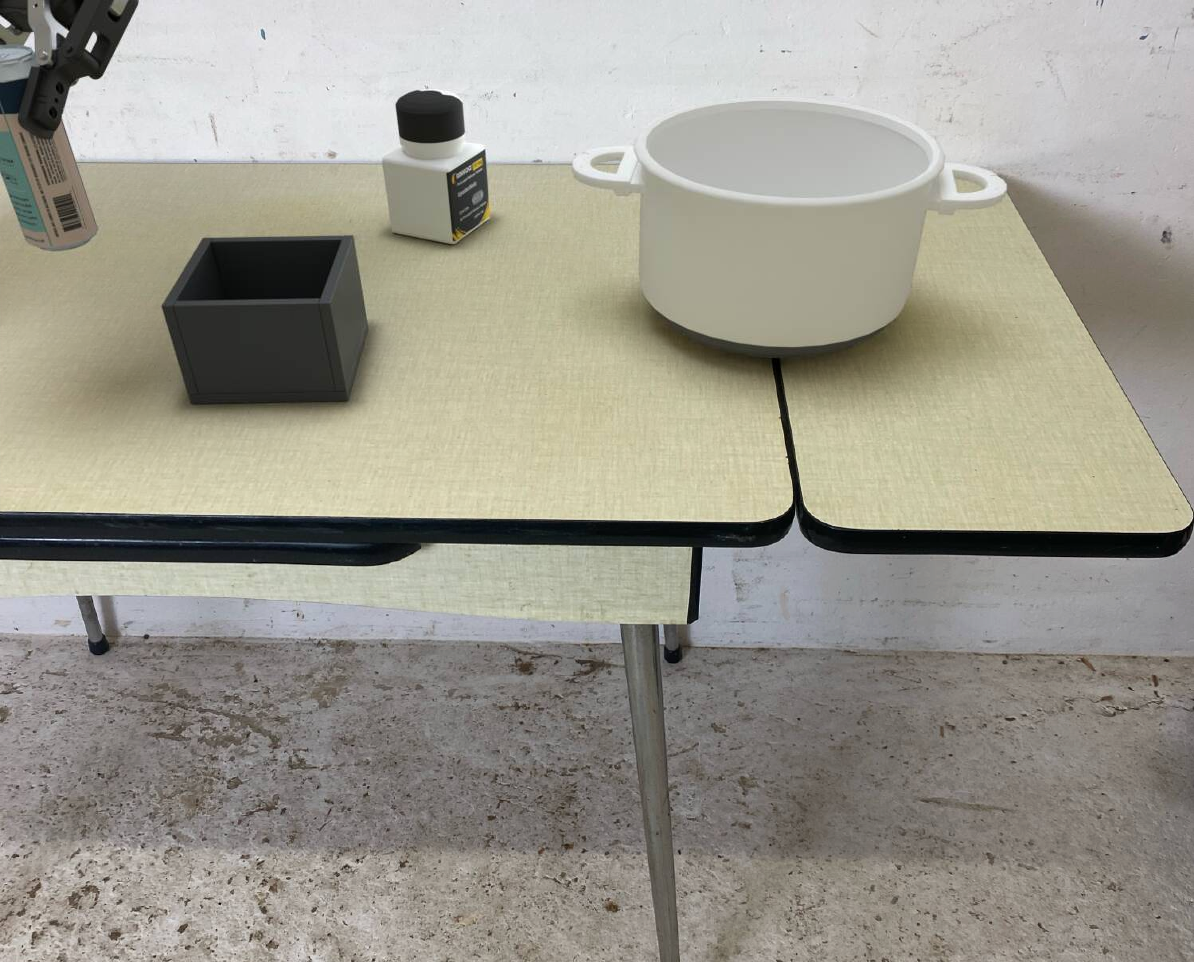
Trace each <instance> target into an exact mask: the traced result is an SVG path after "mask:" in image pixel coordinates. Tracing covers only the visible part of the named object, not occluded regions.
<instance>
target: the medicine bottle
mask: <svg viewBox="0 0 1194 962" xmlns="http://www.w3.org/2000/svg"><path fill="white" fill-rule="evenodd" d="M463 102H464V101H463V99H462V98H461V97H460V96H459V95H458V94H456V93H453V92H451V91H449V90H445V89H441V88H421V89H416V90H412V91H410V92H407V93H405V94H403V95H402V96H400V97H399V98H398V99H397V101H396V102H395V105H394V106H395V113H396V121H397V122H396V123H397V129H398V137H399V144H400V147H399V148H396V149H395V150H393V151H392V152H390V153H388V154H386V155H385V156H383V157H382V159H381V163H382V164H381V165H382V170H383V171H382V172H383V176H384V177H383V178H384V184H385V192H386V200H387V206H388V215H389V221H390V228H391V231H392V233H394V234H399V235H404V236H407V237H414V238H419V239H423V240H427V241H428V240H429V241H434V242H439V243H444V244H448V245H456V244H457V243H459V242H460V241H461V240H462V239H464V238H465V237H467V236H468V235H469V234H470V233H472V232H473V231H475V230H476V229H478V228H479V227H480V226H481V225H483V224H484V223H485V222H487V221H488V220H489V219H490V218H491V211H490V209H491V208H490V197H489V182H488V167H487V154H486V153H487V152H486V146H485V145H484V144H482V143H475V142H469V141H466V140H467V139H466V127H465V115H464V103H463Z"/></svg>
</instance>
